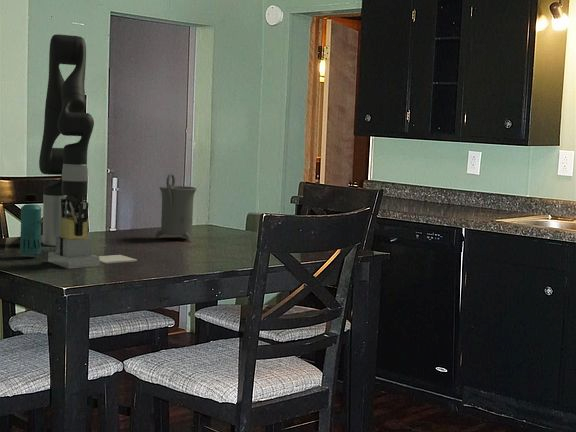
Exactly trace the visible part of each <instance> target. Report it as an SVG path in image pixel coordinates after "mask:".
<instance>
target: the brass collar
mask: <svg viewBox="0 0 576 432" xmlns="http://www.w3.org/2000/svg"><path fill="white" fill-rule="evenodd" d="M75 224H76V223H75V218H74V217H61V226H60V237H62V238H65V239H69V240H72V239H88V238H89V236H88V234H89V233H88V232H89V231H88V228H89V226H88V225H89V218H87V222H84V223H83V235H82V236H76V235H75Z"/></svg>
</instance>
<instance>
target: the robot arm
mask: <svg viewBox="0 0 576 432" xmlns="http://www.w3.org/2000/svg"><path fill="white" fill-rule="evenodd" d="M48 53H49V54H48V55H49V56H48V57H49V58H48V79H47V80H48V81H47V89H46V98H45V107H44V120H43V121H44V122H43V133H42V141H41V146H40V153H39V160H38V166H39V170H40V172H41V174H43V175H48V176H49V175H52V176H55V175H56V176H60V178H59V179H58V180H57V181H54V182H52V183H50V184H47V185H44V187H43V189H42V190H43V195H42V197H43V199H42V200H43V202H42V204H43V206H42V210H43V211H42V244H43V245H45V246H55V247H56V237H60V226H61V217H74V218H75V223H76V224H75V235H76V236H82V235H83V223H84V222H87V219H88V214H89V202H84V198H83V197H84V196H87V195H88V182H89V181H88V177H89V176H88V175H89V174H88V151H89V150H88V148H89V143H90V140H91V136H92V133H93V132H94V131H93V130H94V126H95V120H94V118H93V116H92V114H90V113H89V112H84V111H85V110H86V108H87V107H86V106H87V103H86V92H85V91H86V90H85V81H86V80H85V79H86V66H87V64H86V63H87V45H86V41H85V38H84V37H82V36H80V35H69V34H59V33H58V34H53V35H52V36H51V39H50V42H49V52H48ZM60 65H68V66H69V65H71V66H75V67H74V69H73V70H72V71H71V73H70V74H69V75H68V76H67V77H66V78H65V79H64V77H63V75H62V73H61V69H60ZM61 135H62V136H69V137H80V139H79V141H77V142H73V143H68V144H65V145H64V146H63V147H54V145H55V143H56V140H57V139H58V137H59V136H61Z"/></svg>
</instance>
